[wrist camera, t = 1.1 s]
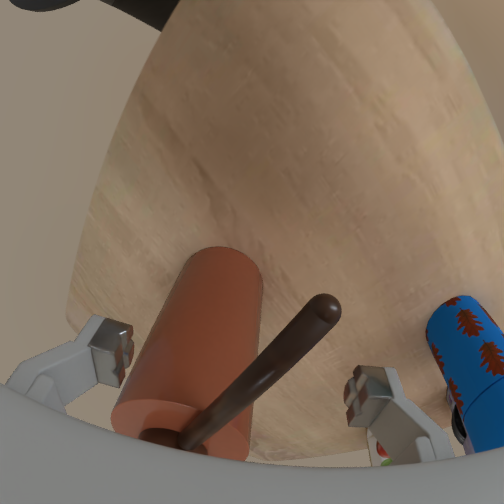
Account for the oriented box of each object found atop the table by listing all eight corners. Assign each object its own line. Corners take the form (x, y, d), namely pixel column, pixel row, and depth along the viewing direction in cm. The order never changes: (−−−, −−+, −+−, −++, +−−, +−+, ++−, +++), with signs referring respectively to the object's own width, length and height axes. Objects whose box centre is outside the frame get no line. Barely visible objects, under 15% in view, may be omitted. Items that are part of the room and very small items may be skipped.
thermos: (421, 309, 43) (490, 449, 20) (480, 284, 40) (567, 400, 18) (426, 357, 47) (475, 482, 24) (479, 333, 44) (542, 444, 22)
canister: (168, 292, 44) (98, 434, 22) (205, 230, 40) (132, 375, 18) (235, 330, 46) (208, 482, 24) (279, 275, 42) (278, 440, 20)
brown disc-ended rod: (282, 257, 14) (282, 278, 12) (374, 315, 15) (383, 339, 13) (131, 443, 22) (125, 459, 21) (190, 468, 23) (186, 484, 22)
